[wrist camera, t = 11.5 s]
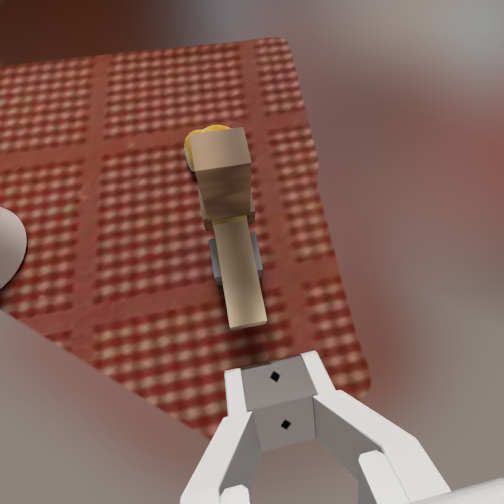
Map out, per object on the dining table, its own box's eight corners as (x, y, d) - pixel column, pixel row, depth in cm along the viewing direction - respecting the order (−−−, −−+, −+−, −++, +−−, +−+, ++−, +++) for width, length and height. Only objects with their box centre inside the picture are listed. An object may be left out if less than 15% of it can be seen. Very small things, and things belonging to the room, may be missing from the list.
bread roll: (249, 167, 47) (250, 151, 44) (193, 183, 46) (189, 168, 42) (233, 127, 50) (232, 108, 46) (180, 141, 49) (174, 123, 45)
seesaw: (224, 335, 39) (218, 327, 30) (205, 209, 44) (195, 173, 36) (271, 326, 39) (278, 316, 31) (246, 203, 45) (246, 166, 36)
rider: (206, 230, 38) (187, 172, 26) (201, 203, 40) (182, 135, 28) (254, 222, 39) (258, 161, 27) (248, 195, 40) (249, 126, 28)
